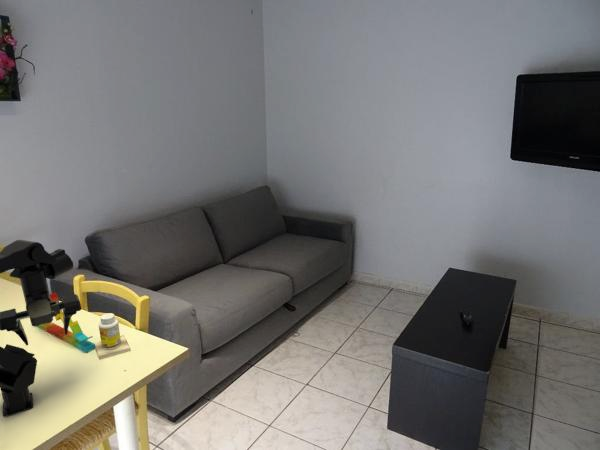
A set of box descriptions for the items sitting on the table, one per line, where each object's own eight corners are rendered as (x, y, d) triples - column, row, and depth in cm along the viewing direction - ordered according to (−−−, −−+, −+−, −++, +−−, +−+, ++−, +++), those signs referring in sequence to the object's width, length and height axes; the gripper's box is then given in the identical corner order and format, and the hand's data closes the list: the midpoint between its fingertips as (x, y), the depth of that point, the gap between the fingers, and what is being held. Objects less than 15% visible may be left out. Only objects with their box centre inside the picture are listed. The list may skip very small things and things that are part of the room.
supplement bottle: (100, 344, 140) (95, 314, 137) (118, 338, 143) (114, 310, 140) (103, 352, 136) (99, 322, 133) (122, 346, 139) (119, 317, 136)
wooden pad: (130, 350, 139) (130, 347, 138) (99, 359, 134) (99, 356, 134) (124, 337, 146) (124, 334, 146) (94, 345, 141) (94, 342, 141)
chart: (96, 348, 140) (89, 305, 136) (86, 353, 138) (79, 309, 133) (44, 322, 156) (37, 282, 152) (35, 326, 154) (27, 286, 149)
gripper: (-9, 310, 104) (6, 366, 109) (78, 289, 114) (89, 342, 119) (-8, 291, 113) (6, 344, 118) (73, 274, 123) (83, 324, 128)
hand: (47, 339), depth 121 cm, fingers open, 9 cm apart
